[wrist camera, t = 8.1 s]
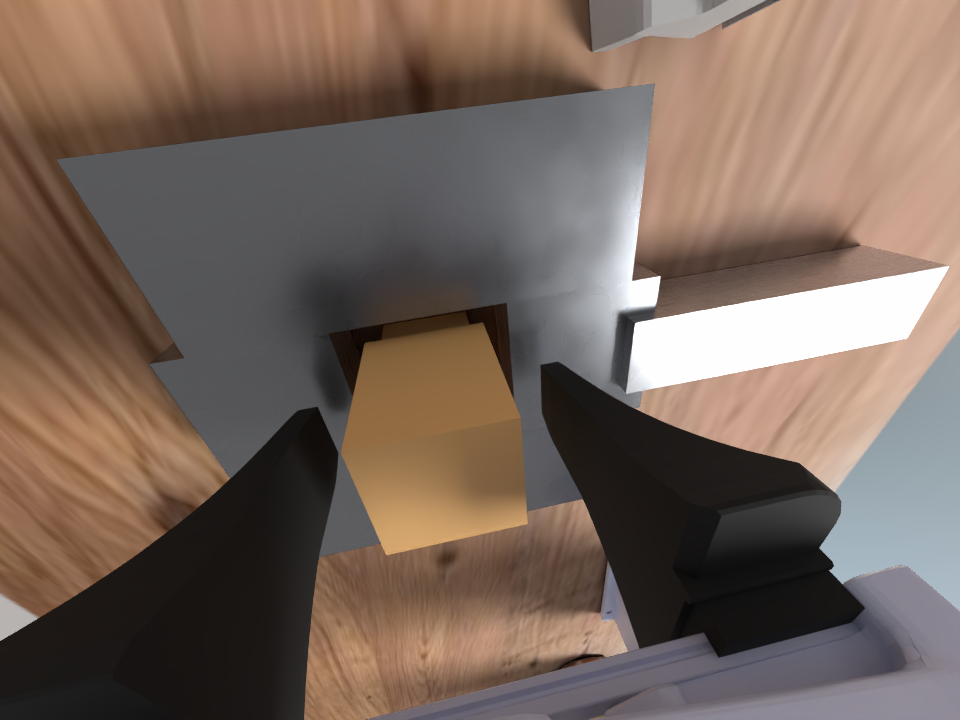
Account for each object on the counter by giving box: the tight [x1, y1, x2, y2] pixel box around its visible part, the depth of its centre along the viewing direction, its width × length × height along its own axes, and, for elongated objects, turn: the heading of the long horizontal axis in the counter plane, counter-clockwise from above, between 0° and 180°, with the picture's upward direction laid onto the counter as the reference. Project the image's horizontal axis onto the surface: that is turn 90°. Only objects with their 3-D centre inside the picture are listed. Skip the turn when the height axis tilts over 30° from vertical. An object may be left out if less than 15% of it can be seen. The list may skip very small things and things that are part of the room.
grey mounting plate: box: [56, 84, 949, 557], centre depth 14 cm, size 16×27×3 cm, turn 96°
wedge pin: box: [341, 312, 528, 555], centre depth 12 cm, size 4×4×7 cm
